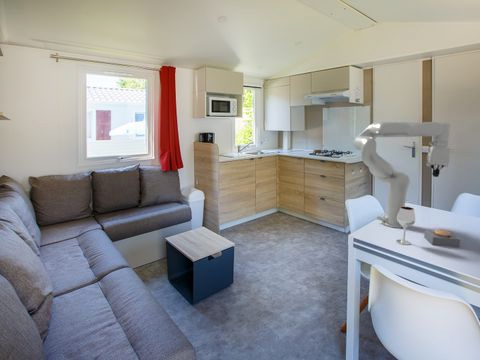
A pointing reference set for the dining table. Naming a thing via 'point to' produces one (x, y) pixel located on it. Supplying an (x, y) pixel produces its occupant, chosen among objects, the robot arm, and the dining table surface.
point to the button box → (442, 239)
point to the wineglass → (405, 221)
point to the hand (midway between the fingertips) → (435, 176)
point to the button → (442, 233)
